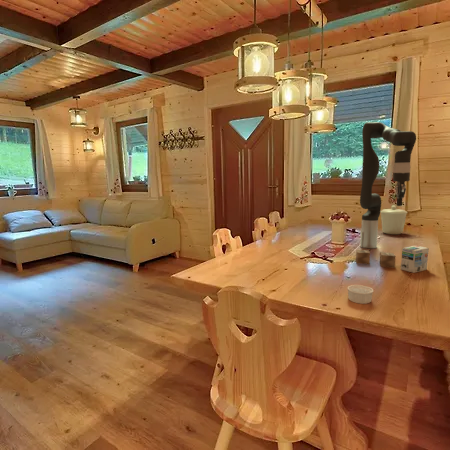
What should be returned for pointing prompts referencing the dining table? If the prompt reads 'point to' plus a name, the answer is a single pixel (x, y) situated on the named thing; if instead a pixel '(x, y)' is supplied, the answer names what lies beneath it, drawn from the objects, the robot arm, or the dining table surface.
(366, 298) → the ramekin
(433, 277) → the dining table surface
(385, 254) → the walnut block one
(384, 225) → the canister
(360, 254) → the walnut block two
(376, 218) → the robot arm
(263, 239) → the dining table surface
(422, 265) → the light bulb box
